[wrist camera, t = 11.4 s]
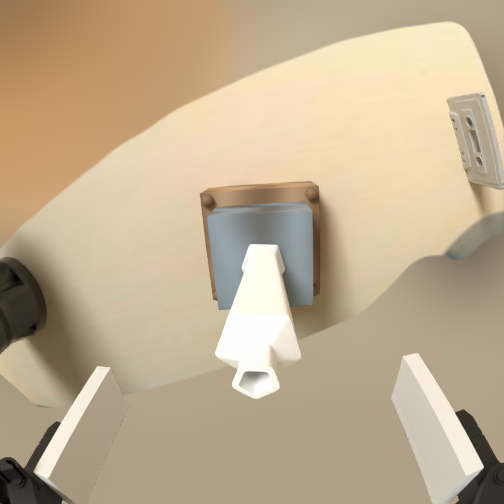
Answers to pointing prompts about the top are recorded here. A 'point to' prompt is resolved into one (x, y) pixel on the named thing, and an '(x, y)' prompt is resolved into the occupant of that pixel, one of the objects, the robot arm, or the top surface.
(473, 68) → the top surface
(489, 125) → the cassette
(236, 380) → the perfume bottle
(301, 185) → the blue block on board
